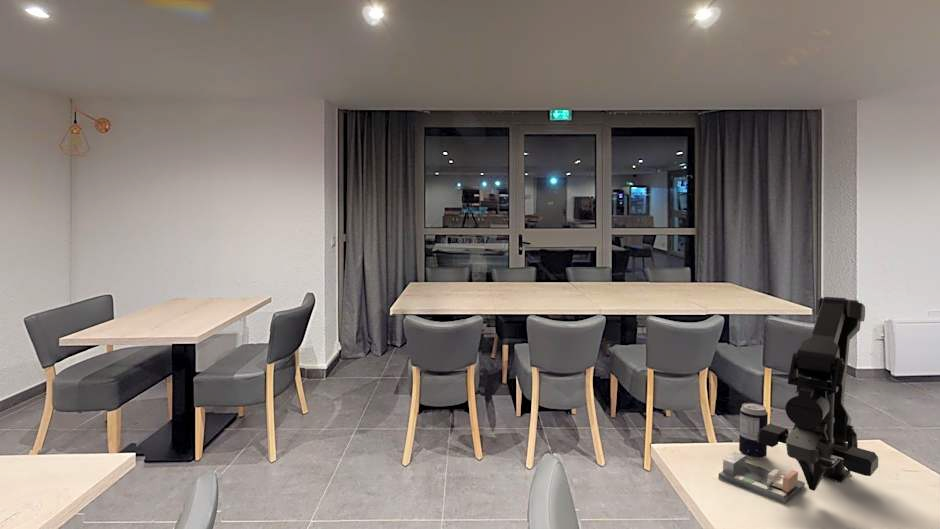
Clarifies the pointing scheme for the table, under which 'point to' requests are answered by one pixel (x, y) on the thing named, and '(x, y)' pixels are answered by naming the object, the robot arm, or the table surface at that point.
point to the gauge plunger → (783, 480)
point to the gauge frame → (754, 478)
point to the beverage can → (752, 430)
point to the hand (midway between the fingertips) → (812, 489)
